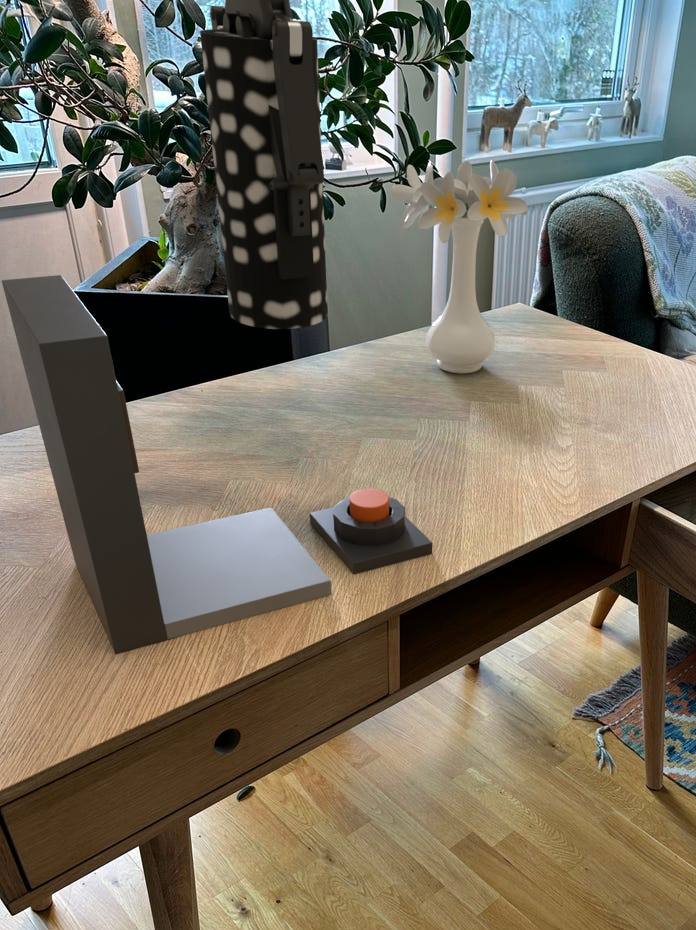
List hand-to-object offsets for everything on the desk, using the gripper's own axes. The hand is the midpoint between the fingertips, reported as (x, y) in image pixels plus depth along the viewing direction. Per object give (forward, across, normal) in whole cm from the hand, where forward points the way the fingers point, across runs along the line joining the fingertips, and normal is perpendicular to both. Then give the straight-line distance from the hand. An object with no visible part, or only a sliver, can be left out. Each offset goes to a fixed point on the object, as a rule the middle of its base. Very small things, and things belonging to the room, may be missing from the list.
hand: (275, 261), depth 74 cm
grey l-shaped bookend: (+23, -9, +12) cm, 28 cm away
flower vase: (+23, +26, -35) cm, 49 cm away
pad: (+23, -9, -4) cm, 25 cm away
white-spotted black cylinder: (+5, 0, 0) cm, 5 cm away
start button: (+20, -9, -4) cm, 23 cm away
